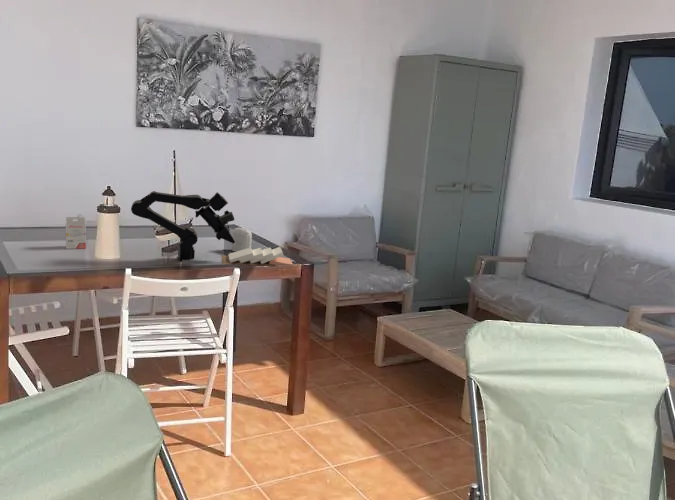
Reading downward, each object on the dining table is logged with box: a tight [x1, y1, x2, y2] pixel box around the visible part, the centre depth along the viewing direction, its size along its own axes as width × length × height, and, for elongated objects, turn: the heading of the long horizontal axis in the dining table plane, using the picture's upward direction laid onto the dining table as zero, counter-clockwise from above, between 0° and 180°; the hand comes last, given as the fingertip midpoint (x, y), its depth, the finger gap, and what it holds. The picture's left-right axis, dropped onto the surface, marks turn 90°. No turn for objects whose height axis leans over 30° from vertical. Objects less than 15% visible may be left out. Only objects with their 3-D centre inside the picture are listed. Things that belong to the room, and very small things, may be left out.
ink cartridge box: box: [65, 216, 87, 250], centre depth 313 cm, size 9×5×15 cm, turn 112°
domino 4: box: [260, 246, 284, 264], centre depth 320 cm, size 2×10×11 cm
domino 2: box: [239, 247, 263, 263], centre depth 319 cm, size 2×10×11 cm
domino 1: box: [228, 246, 254, 263], centre depth 318 cm, size 2×10×11 cm
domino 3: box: [250, 246, 274, 264], centre depth 320 cm, size 2×10×11 cm
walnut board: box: [221, 255, 276, 267], centre depth 319 cm, size 24×14×1 cm, turn 102°
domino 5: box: [268, 256, 294, 267], centre depth 322 cm, size 2×10×11 cm
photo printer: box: [231, 227, 253, 252], centre depth 332 cm, size 10×4×12 cm, turn 56°
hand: (234, 242), depth 316 cm, fingers closed
